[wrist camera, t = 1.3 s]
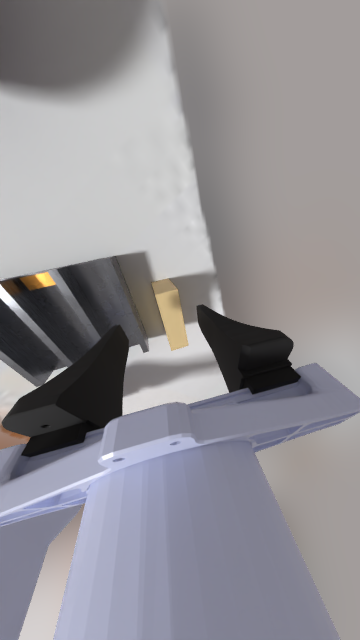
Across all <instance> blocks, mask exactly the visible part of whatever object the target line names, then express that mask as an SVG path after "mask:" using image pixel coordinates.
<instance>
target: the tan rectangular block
mask: <svg viewBox="0 0 360 640" xmlns="http://www.w3.org/2000/svg"><path fill="white" fill-rule="evenodd" d="M151 283H152V287H153V290H154V293H155V297H156V300H157V304H158V307H159V310H160V314H161V317H162V321H163V324H164V327H165V331H166V334H167V337H168V341H169V344H170V347H171V351H173V350H176V349H179V348H182V347H185V346H188V340H187V335H186V330H185V325H184V319H183V314H182V309H181V304H180V299H179V293H178V289H177V288H176V287H175V286H174V284H173V283H172V282H171V281H170V280H169V279H164V280H160V281H156V282H151Z"/></svg>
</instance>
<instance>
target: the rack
mask: <svg viewBox="0 0 360 640" xmlns="http://www.w3.org/2000/svg"><path fill="white" fill-rule="evenodd" d="M116 325H121V327H122V329H123V331H124V332H125V334H126V336H127V338H128V339H129V347H131V346H134V345H138V344H140V346H141V348H142V350H143V353H145V352H148V351H149V346H148V337H147V335H146V332H145V330H144V327H143V325H142V322H141V320H140V317H139V315H138V312H137V310H136V307H135V305H134V302H133V300H132V297H131V295H130V292H129V290H128V287H127V285H126V282H125V280H124V277H123V275H122V272H121V270H120V267H119V265H118V262H117V260H116V257H115V256H112V257H107V258H102V259H97V260H93V261H88V262H83V263H79V264H74V265H69V266H64V267H60V268H55V269H50V270H46V271H41V272H36V273H31V274H27V275H22V276H17V277H13V278H8V279H3V280H0V360H2V361H3V362H4V363H6V364H7V365H8V366H10V367H11V368H12V369H14V370H15V371H16V372H18V373H19V374H20V375H22V376H23V377H24V378H26V379H27V380H28V381H30V382H31V383H32V384H34V385H35V386H36V387H38V386H41V385H43V384H44V383H45V382H46V380H47V379H48V377H49V376H50V375H51V373H52V372H53V370H57V369H60V368H63V367H66V366H67V367H70V366H71V365H72V364H74V363H75V362H76V361H78V360H79V359H80V358H81V357H82V356H84V355H85V354H86V353H87V352H88V351H89V350H90V349H91V348H92V347H93V346H94V345H95V344H96V343H97V342H98V341H99V340H100V339H101V338H102V337H103V336H104V335H105V334H106V333H107V332H108V331H109V330H110V329H111V328H112V327H113V326H116Z"/></svg>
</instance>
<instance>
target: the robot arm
mask: <svg viewBox="0 0 360 640" xmlns="http://www.w3.org/2000/svg"><path fill="white" fill-rule="evenodd" d="M197 315H198V324H199V326H200V329H201V331H202V333H203V335H204V337H205V338H206V340H207V342H208V344H209V346H210V347H211V349H212V351H213V353H214V355H215V358H216V360H217V362H218V365H219V367H220V370H221V372H222V375H223V377H224V380H225V382H226V385H227V388H228V390H229V393H227V394H224V395H220V396H216V397H213V398H209V399H206V400H202V401H198V402H195V403H191V404H188V405H186V404H185V403H180V402H174V403H167V404H163V405H160V406H156V407H152V408H149V409H145V410H141V411H138V412H134V413H131V414H127V415H123V416H122V400H123V381H124V372H125V367H126V362H127V357H128V351H129V339H128V338H127V336H126V334H125V332H124V331H123V329H122V327H121V325H116V326H113V327H112V328H111V329H110V330H109V331H108V332H107V333H106V334H105V335H104V336H103V337H102V338H101V339H100V340H99V341H98V342H97V343H96V344H95V345H94V346H93V347H92V348H91V349H90V350H89V351H88V352H87V353H86V354H85V355H84V356H82V357H81V358H80V359H79V360H78V361H76V362H75V363H74V364H72V365H71V366H70V367H68V368H67V369H66V370H64V371H63V372H62V373H60V374H59V375H57V376H56V377H54V378H53V379H51V380H50V381H48V382H47V383H45V384H43V385H42V386H40V387H38V388H37V389H35V390H33V391H32V392H30V393H28V394H27V395H25V396H23V397H21V398H20V399H19V400H18V401H17V402H16V404H15V405H14V406H13V408H12V409H11V410H10V412H9V413H8V414H7V415H6V417H5V418H4V419H3V421H2V425H3V427H4V428H5V429H7V430H9V431H12V432H15V433H18V434H22V435H25V436H29V437H31V438H30V440H29V442H28V443H27V444H20V445H16V446H12V447H8V448H5V449H1V450H0V640H18V639H19V636H20V632H21V629H22V626H23V623H24V620H25V617H26V614H27V611H28V607H29V604H30V601H31V599H32V595H33V592H34V589H35V586H36V583H37V580H38V577H39V574H40V571H41V568H42V564H43V562H44V558H45V555H46V552H47V549H48V546H49V545H50V543H51V542H52V541H53V540H54V539H55V538H56V537H57V536H58V534H59V533H60V532H61V531H62V530H63V529H64V528H65V527H66V526H67V525H68V524H69V523H70V521H71V520H72V519H73V518H74V517H75V516H76V514H77V513H78V511H79V510H80V508H81V506H82V504H84V503H86V504H85V508H84V512H83V516H82V521H81V525H80V530H79V533H78V537H77V542H76V546H75V550H74V554H73V559H72V563H71V567H70V571H69V576H68V579H67V584H66V589H65V592H64V596H63V600H62V605H61V609H60V613H59V618H58V621H57V626H56V630H55V634H54V638H53V640H341V639H340V637H339V635H338V633H337V631H336V628H335V626H334V624H333V622H332V620H331V618H330V616H329V613H328V611H327V609H326V607H325V605H324V602H323V600H322V598H321V596H320V594H319V592H318V589H317V587H316V585H315V583H314V581H313V579H312V576H311V574H310V572H309V570H308V568H307V566H306V564H305V561H304V559H303V557H302V555H301V553H300V550H299V548H298V546H297V544H296V542H295V540H294V537H293V535H292V533H291V531H290V529H289V527H288V525H287V522H286V520H285V518H284V516H283V514H282V511H281V509H280V507H279V505H278V503H277V500H276V499H275V496H274V494H273V492H272V490H271V488H270V486H269V483H268V481H267V479H266V477H265V474H264V472H263V470H262V468H261V466H260V464H259V461H258V459H257V457H256V455H255V452H258V451H260V450H263V449H266V448H269V447H272V446H275V445H278V444H280V443H283V442H286V441H289V440H291V439H295V438H297V437H300V436H303V435H306V434H309V433H312V432H315V431H318V430H321V429H324V428H327V427H331V426H334V425H337V424H340V423H342V422H344V421H345V420H347V419H349V418H351V417H353V416H355V415H356V414H358V413H360V398H359V397H358V396H356V395H355V394H354V393H353V392H352V391H350V390H349V389H348V388H347V387H345V386H344V385H343V384H342V383H340V382H339V381H338V380H337V379H336V378H334V377H333V376H332V375H331V374H329V373H328V372H327V371H326V370H325V369H323V368H322V367H321V366H320V365H318V364H317V363H313V364H309V365H305V366H302V367H299V368H297V369H295V370H294V369H293V368H292V367H291V365H292V363H291V362H290V361H289V360H288V356H289V355H290V353H291V351H292V349H293V341H292V340H291V339H290V338H288V337H287V336H286V335H285V334H284V333H282V332H281V331H279V330H271V329H265V328H260V327H255V326H250V325H247V324H243V323H240V322H237V321H234V320H232V319H229V318H227V317H225V316H222V315H220V314H218V313H217V312H215V311H213V310H211V309H210V308H208V307H206V306H205V305H198V306H197Z"/></svg>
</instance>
